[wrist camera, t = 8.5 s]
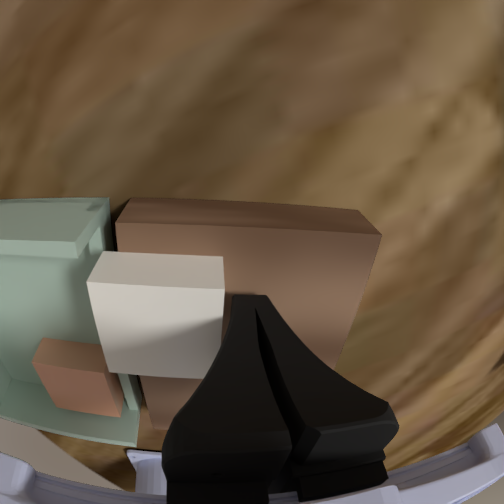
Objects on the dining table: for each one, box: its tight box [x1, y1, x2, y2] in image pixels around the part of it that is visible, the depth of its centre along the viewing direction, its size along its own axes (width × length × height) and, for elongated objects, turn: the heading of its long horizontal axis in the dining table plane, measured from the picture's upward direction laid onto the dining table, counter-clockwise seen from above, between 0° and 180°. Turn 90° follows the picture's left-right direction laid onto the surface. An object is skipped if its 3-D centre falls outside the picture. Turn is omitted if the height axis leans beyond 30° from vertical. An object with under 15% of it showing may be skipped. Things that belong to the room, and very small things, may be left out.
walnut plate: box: [115, 198, 382, 430], centre depth 16 cm, size 14×10×2 cm
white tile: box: [86, 251, 225, 379], centre depth 12 cm, size 4×4×2 cm
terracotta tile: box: [32, 337, 124, 418], centre depth 16 cm, size 4×4×2 cm
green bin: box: [0, 198, 142, 447], centre depth 13 cm, size 14×11×4 cm
